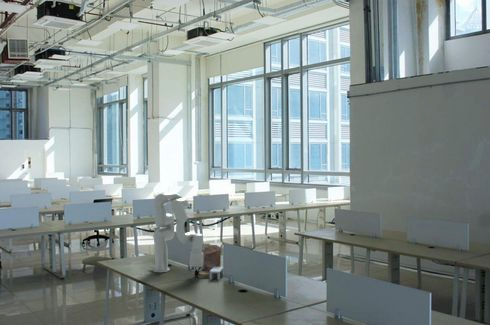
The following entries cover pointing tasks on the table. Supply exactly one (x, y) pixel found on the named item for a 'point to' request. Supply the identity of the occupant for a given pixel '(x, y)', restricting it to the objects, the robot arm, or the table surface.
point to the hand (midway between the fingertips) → (196, 275)
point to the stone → (211, 256)
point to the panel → (206, 274)
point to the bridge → (217, 270)
